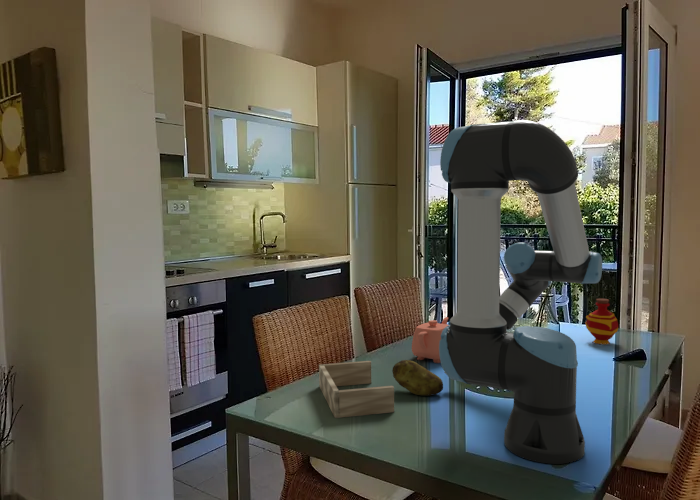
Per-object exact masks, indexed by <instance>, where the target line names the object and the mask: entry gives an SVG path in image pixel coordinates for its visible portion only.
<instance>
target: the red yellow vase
mask: <svg viewBox="0 0 700 500" xmlns="http://www.w3.org/2000/svg"><path fill="white" fill-rule="evenodd" d="M595 300H596V302H595V305H596V306H597V309H595V310H594V311H593V312H592V311H591V312H590V313H589V314H588V315H586V316H585V318H586V321H585V322H584V323H585V328H586V329H587V331H588V332H589V333H590V335H592V336H593V337H594V338H595V339H594V340H593V343H594V344H599V345H610V344H611V343H610V341H609V340H610V339H612V338H613V337H614V336H615V334H617V332H618V331H619V322H618V319H617V317H616V316H615V313H614V312H612V311H611V310H608V307H610V305H611V304H610V299H607V298H596V299H595Z"/></svg>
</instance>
